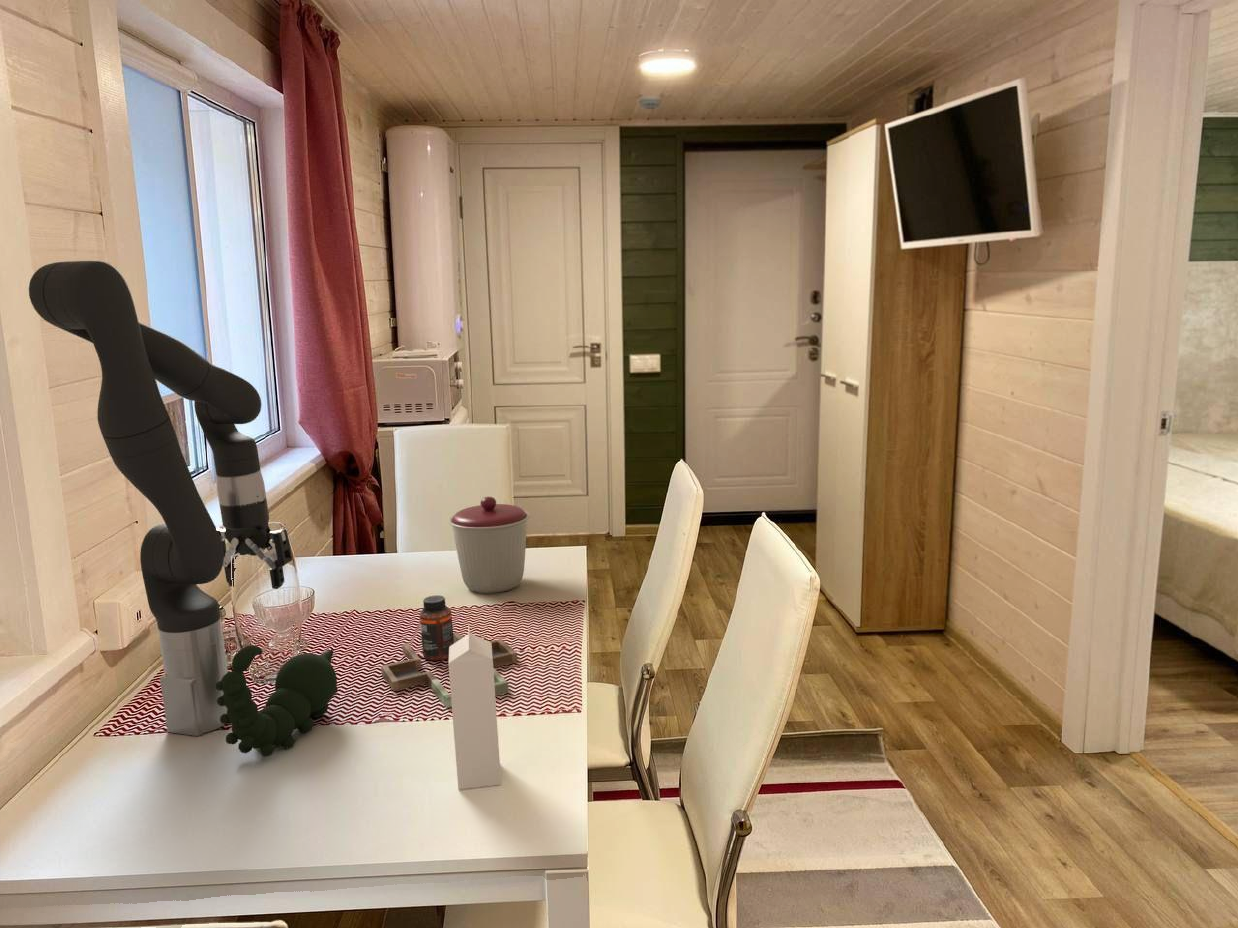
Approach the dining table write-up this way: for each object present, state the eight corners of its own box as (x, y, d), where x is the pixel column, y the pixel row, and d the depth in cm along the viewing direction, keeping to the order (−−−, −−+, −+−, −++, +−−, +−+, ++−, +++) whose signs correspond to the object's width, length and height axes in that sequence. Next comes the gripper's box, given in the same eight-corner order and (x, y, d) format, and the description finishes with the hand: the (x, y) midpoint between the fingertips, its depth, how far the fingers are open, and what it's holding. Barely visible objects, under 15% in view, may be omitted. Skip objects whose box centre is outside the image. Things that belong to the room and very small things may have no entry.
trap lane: (371, 659, 175) (370, 650, 175) (487, 634, 186) (486, 625, 185) (410, 716, 152) (409, 706, 152) (541, 683, 162) (540, 674, 162)
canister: (543, 591, 209) (538, 500, 205) (463, 605, 203) (456, 511, 199) (521, 569, 226) (516, 484, 221) (446, 580, 219) (440, 493, 215)
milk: (499, 763, 136) (491, 621, 132) (501, 785, 131) (492, 636, 126) (457, 768, 136) (447, 624, 131) (457, 790, 130) (446, 640, 125)
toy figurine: (270, 785, 136) (363, 696, 159) (247, 669, 131) (347, 594, 153) (217, 777, 139) (316, 690, 162) (192, 663, 133) (298, 590, 156)
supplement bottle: (458, 649, 179) (454, 593, 177) (450, 662, 173) (445, 604, 171) (428, 649, 179) (423, 593, 177) (418, 661, 174) (413, 604, 171)
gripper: (192, 503, 158) (207, 592, 162) (266, 505, 154) (280, 596, 158) (220, 490, 165) (234, 576, 169) (291, 492, 161) (304, 580, 165)
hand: (256, 586), depth 164 cm, fingers open, 8 cm apart
